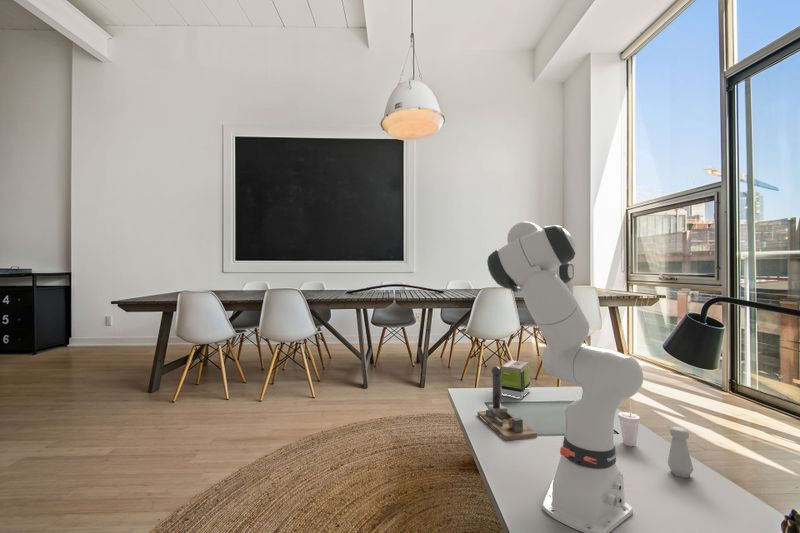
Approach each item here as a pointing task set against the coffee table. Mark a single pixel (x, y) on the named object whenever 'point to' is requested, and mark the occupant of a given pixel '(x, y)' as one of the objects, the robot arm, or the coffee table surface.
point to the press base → (508, 426)
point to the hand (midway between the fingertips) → (560, 330)
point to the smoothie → (629, 427)
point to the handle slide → (497, 395)
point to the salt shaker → (679, 453)
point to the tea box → (515, 378)
